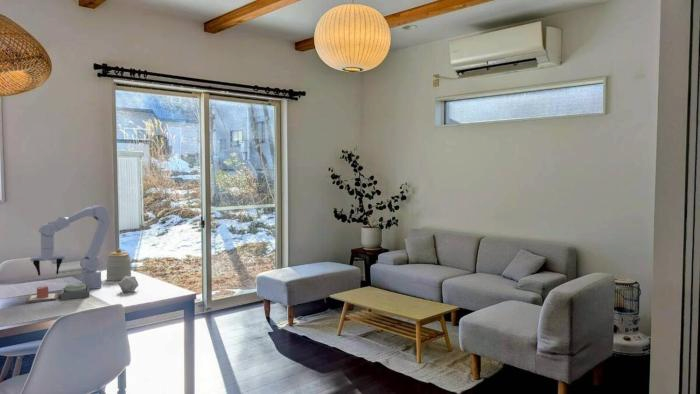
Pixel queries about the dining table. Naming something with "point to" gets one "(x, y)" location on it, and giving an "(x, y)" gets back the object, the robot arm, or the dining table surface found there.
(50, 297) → the board
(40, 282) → the dining table surface
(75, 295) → the grey square tray
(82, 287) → the dome
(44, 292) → the small die
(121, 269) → the jar
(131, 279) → the die
